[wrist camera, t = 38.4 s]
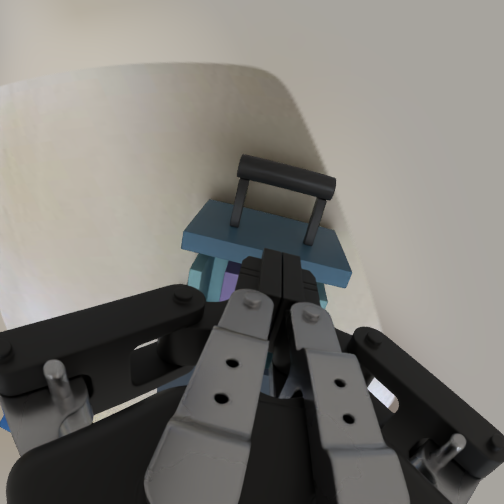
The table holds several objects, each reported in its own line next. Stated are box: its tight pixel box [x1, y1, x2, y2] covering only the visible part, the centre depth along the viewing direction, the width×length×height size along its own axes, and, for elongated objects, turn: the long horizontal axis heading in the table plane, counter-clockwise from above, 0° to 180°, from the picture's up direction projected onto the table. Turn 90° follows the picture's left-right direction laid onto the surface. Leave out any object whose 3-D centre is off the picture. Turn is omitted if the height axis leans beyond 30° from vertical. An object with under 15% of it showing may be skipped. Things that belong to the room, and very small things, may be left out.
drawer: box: [181, 154, 352, 369], centre depth 23 cm, size 18×10×7 cm, turn 167°
